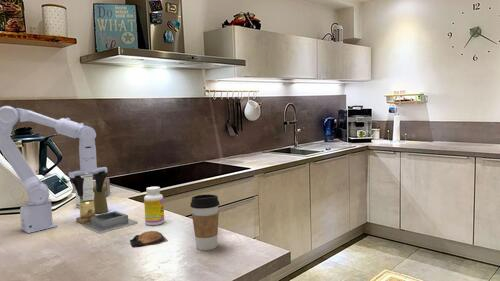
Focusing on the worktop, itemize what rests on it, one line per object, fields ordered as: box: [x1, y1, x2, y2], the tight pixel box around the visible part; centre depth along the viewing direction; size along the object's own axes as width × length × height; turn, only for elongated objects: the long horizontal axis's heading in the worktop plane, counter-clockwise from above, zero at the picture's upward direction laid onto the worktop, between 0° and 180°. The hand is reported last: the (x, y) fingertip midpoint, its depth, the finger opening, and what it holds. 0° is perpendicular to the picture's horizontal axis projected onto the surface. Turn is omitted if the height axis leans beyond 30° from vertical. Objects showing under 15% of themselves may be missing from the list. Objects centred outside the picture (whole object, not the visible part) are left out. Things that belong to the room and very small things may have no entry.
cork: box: [93, 184, 109, 214], centre depth 150 cm, size 6×6×11 cm
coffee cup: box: [189, 193, 220, 251], centre depth 106 cm, size 8×8×15 cm
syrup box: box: [74, 173, 94, 209], centre depth 159 cm, size 6×6×14 cm
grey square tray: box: [81, 210, 139, 234], centre depth 132 cm, size 14×14×3 cm
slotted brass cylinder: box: [79, 200, 96, 219], centre depth 137 cm, size 5×5×6 cm
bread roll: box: [129, 230, 169, 248], centre depth 113 cm, size 11×8×4 cm
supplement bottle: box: [143, 186, 165, 226], centre depth 132 cm, size 7×7×13 cm
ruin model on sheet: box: [103, 177, 111, 198], centre depth 183 cm, size 11×3×10 cm, turn 13°
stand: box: [75, 214, 96, 225], centre depth 137 cm, size 6×6×2 cm
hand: (90, 194), depth 139 cm, fingers open, 7 cm apart
